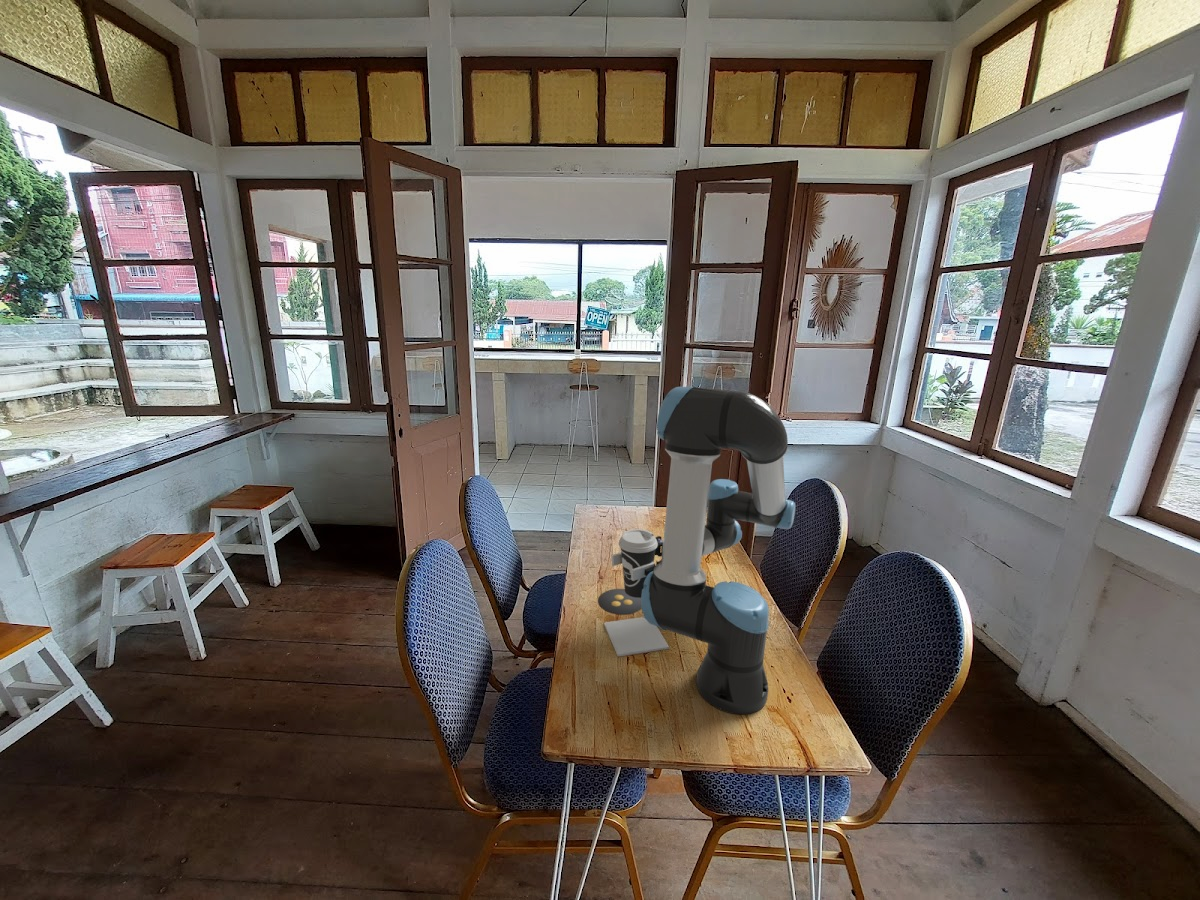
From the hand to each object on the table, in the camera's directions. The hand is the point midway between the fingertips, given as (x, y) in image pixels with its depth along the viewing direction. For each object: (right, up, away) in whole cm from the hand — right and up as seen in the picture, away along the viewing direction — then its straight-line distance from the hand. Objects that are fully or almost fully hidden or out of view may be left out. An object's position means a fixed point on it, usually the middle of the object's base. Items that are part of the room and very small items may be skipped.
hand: (622, 567), depth 120 cm
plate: (+4, -19, +6) cm, 20 cm away
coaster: (+1, -15, +21) cm, 26 cm away
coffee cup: (+4, -7, +5) cm, 9 cm away
